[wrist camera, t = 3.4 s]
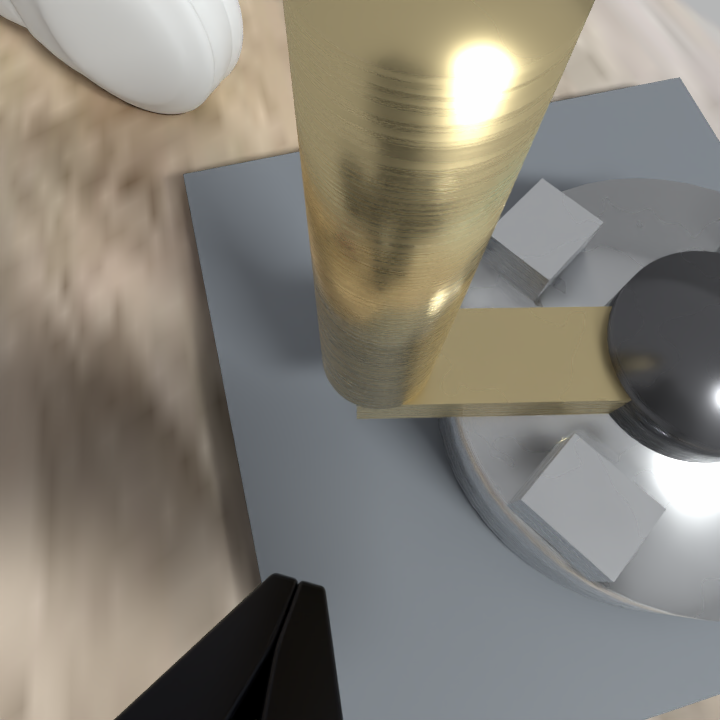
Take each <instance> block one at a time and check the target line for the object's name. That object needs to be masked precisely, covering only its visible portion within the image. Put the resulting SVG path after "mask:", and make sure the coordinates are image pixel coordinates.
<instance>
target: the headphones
mask: <svg viewBox="0 0 720 720" xmlns="http://www.w3.org/2000/svg"><path fill="white" fill-rule="evenodd" d="M0 15H1V16H3V17H4V18H6V19H8V20H10V21H12V22H14V23H17V24H19V25H21V26H23V27H25V28H27V29H28V30H29V32H30V33H31V34H32V36H33V37H35V38H36V39H37V40H38V41H39V42H40V43H41V44H42V45H44V46H45V47H46V48H47V49H48V50H49V51H50V52H52V53H53V54H54V55H55V56H56V57H58V58H59V59H60V60H62V61H63V62H64V63H66V64H67V65H68V66H70V67H71V68H72V69H74V70H76V71H77V72H79V73H81V74H82V75H84V76H85V77H87V78H88V79H90V80H91V81H92V82H94V83H95V84H97V85H98V86H100V87H101V88H103V89H104V90H106V91H108V92H109V93H111V94H112V95H114V96H116V97H118V98H120V99H122V100H123V101H125V102H127V103H129V104H132V105H134V106H136V107H139V108H142V109H144V110H148V111H151V112H156V113H161V114H181V113H186V112H189V111H192V110H194V109H195V108H197V107H199V106H200V105H201V104H202V103H203V102H204V101H205V100H206V99H207V97H208V96H209V95H210V94H211V93H212V92H213V91H214V90H215V89H216V87H217V86H218V85H219V84H220V82H221V81H222V80H223V79H224V78H226V77H227V76H228V75H229V74H230V73H231V71H232V70H233V68H234V67H235V65H236V63H237V61H238V59H239V56H240V53H241V49H242V42H243V22H242V15H241V10H240V6H239V2H238V0H0Z"/></svg>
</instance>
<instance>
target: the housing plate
mask: <svg viewBox="0 0 720 720" xmlns="http://www.w3.org/2000/svg"><path fill="white" fill-rule="evenodd" d="M183 176H184V181H185V186H186V191H187V196H188V202H189V207H190V212H191V217H192V222H193V228H194V233H195V238H196V243H197V249H198V254H199V259H200V264H201V269H202V275H203V280H204V285H205V290H206V295H207V301H208V306H209V311H210V316H211V322H212V327H213V332H214V337H215V342H216V348H217V353H218V358H219V363H220V368H221V374H222V379H223V384H224V389H225V395H226V400H227V405H228V410H229V415H230V421H231V426H232V431H233V436H234V441H235V447H236V452H237V457H238V462H239V467H240V473H241V478H242V483H243V488H244V494H245V499H246V504H247V509H248V514H249V520H250V525H251V530H252V535H253V540H254V546H255V551H256V556H257V561H258V567H259V572H260V577H261V582H263V581H264V580H266V579H267V578H268V577H269V576H270V575H271V574H273V573H279V574H283V575H286V576H290V577H293V578H296V579H297V581H298V584H299V582H300V581H307V582H311V583H314V584H318V585H321V586H323V587H324V588H325V590H326V596H327V603H328V611H329V618H330V625H331V633H332V640H333V647H334V655H335V662H336V669H337V677H338V684H339V691H340V699H341V706H342V713H343V720H646V719H649V718H651V717H654V716H657V715H660V714H663V713H666V712H669V711H672V710H675V709H678V708H681V707H684V706H687V705H690V704H692V703H695V702H698V701H701V700H704V699H707V698H710V697H713V696H716V695H719V694H720V621H708V620H701V619H694V618H686V617H679V616H672V615H665V614H658V613H651V612H644V611H639V610H633V609H628V608H622V607H617V606H612V605H609V604H606V603H603V602H600V601H597V600H594V599H591V598H588V597H585V596H583V595H581V594H578V593H576V592H574V591H572V590H570V589H568V588H566V587H564V586H561V585H559V584H557V583H556V582H554V581H553V580H551V579H550V578H548V577H546V576H545V575H543V574H542V573H540V572H538V571H537V570H535V569H534V568H532V567H531V566H530V565H529V564H527V563H526V562H525V561H524V560H522V559H521V558H520V557H519V556H518V555H516V554H515V553H514V552H513V551H511V550H510V549H509V548H508V547H507V546H506V545H505V544H504V543H503V542H502V541H501V540H500V539H499V538H498V537H497V536H496V534H495V533H494V532H493V531H492V530H491V529H490V528H489V527H488V526H487V525H486V523H485V522H484V521H483V519H482V518H481V517H480V515H479V514H478V513H477V511H476V510H475V509H474V507H473V506H472V505H471V503H470V501H469V500H468V498H467V496H466V495H465V493H464V491H463V489H462V488H461V486H460V484H459V482H458V481H457V479H456V476H455V474H454V472H453V469H452V467H451V465H450V462H449V460H448V458H447V455H446V452H445V449H444V445H443V442H442V438H441V435H440V431H439V426H438V419H437V418H389V419H357V408H356V405H355V404H353V403H351V402H349V401H348V400H346V399H344V398H343V397H342V396H341V395H340V394H338V392H337V391H336V390H335V389H334V388H333V387H332V385H331V384H330V382H329V380H328V379H327V377H326V374H325V371H324V367H323V361H322V352H321V343H320V334H319V325H318V316H317V307H316V298H315V288H314V279H313V270H312V261H311V252H310V243H309V234H308V225H307V215H306V206H305V197H304V188H303V179H302V170H301V161H300V152H295V153H290V154H285V155H280V156H275V157H269V158H264V159H259V160H254V161H249V162H244V163H239V164H234V165H228V166H223V167H218V168H213V169H208V170H203V171H198V172H193V173H187V174H183ZM542 178H543V179H544V180H546V181H547V182H548V183H550V184H551V185H552V186H554V187H555V188H557V189H558V190H559V191H561V192H562V191H565V190H568V189H572V188H575V187H578V186H581V185H584V184H589V183H595V182H601V181H606V180H615V179H631V178H641V179H662V180H668V181H675V182H681V183H688V184H692V185H696V186H700V187H704V188H708V189H711V190H715V191H718V192H720V142H719V140H718V138H717V137H716V135H715V134H714V132H713V130H712V129H711V127H710V125H709V124H708V122H707V121H706V119H705V117H704V116H703V114H702V113H701V111H700V109H699V108H698V106H697V105H696V103H695V101H694V100H693V98H692V96H691V95H690V93H689V92H688V90H687V88H686V87H685V85H684V84H683V82H682V80H681V79H680V77H679V78H674V79H669V80H664V81H658V82H653V83H648V84H643V85H638V86H633V87H628V88H623V89H618V90H612V91H607V92H602V93H597V94H592V95H587V96H582V97H577V98H571V99H566V100H561V101H556V102H551V103H550V104H549V106H548V108H547V111H546V113H545V115H544V117H543V120H542V122H541V124H540V126H539V129H538V131H537V133H536V136H535V138H534V140H533V142H532V145H531V147H530V149H529V152H528V154H527V156H526V158H525V161H524V163H523V165H522V167H521V170H520V172H519V174H518V177H517V179H516V181H515V183H514V186H513V188H512V190H511V193H510V195H509V197H508V199H507V202H506V204H505V206H504V208H503V211H502V213H501V215H500V218H499V220H500V219H501V218H502V217H503V216H504V215H505V214H506V213H507V212H508V211H509V210H510V209H511V208H512V207H513V206H514V205H515V204H516V203H517V202H518V201H519V200H520V199H521V198H522V197H524V196H525V195H526V194H527V193H528V192H529V191H530V190H531V189H532V188H533V187H534V186H535V185H536V184H537V183H538V182H539V181H540V180H541V179H542ZM499 220H498V221H499Z"/></svg>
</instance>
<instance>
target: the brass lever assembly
mask: <svg viewBox="0 0 720 720" xmlns="http://www.w3.org/2000/svg"><path fill="white" fill-rule="evenodd" d="M594 1H595V0H283V6H284V15H285V24H286V33H287V42H288V51H289V60H290V69H291V79H292V88H293V97H294V106H295V115H296V124H297V133H298V142H299V152H300V161H301V170H302V179H303V188H304V197H305V206H306V215H307V225H308V234H309V243H310V252H311V261H312V270H313V279H314V288H315V298H316V307H317V316H318V325H319V334H320V343H321V352H322V361H323V367H324V371H325V374H326V377H327V379H328V380H329V382H330V384H331V385H332V387H333V388H334V389H335V390H336V391H337V392H338V394H340V395H341V396H342V397H343V398H344V399H346V400H348V401H349V402H351V403H353V404H355V405H356V408H357V419H389V418H437V419H438V426H439V431H440V435H441V438H442V442H443V445H444V449H445V452H446V455H447V458H448V460H449V462H450V465H451V467H452V469H453V472H454V474H455V476H456V479H457V481H458V482H459V484H460V486H461V488H462V489H463V491H464V493H465V495H466V496H467V498H468V500H469V501H470V503H471V505H472V506H473V507H474V509H475V510H476V511H477V513H478V514H479V515H480V517H481V518H482V519H483V521H484V522H485V523H486V525H487V526H488V527H489V528H490V529H491V530H492V531H493V532H494V533H495V534H496V536H497V537H498V538H499V539H500V540H501V541H502V542H503V543H504V544H505V545H506V546H507V547H508V548H509V549H510V550H511V551H513V552H514V553H515V554H516V555H518V556H519V557H520V558H521V559H522V560H524V561H525V562H526V563H527V564H529V565H530V566H531V567H532V568H534V569H535V570H537V571H538V572H540V573H542V574H543V575H545V576H546V577H548V578H550V579H551V580H553V581H554V582H556V583H557V584H559V585H561V586H564V587H566V588H568V589H570V590H572V591H574V592H576V593H578V594H581V595H583V596H585V597H588V598H591V599H594V600H597V601H600V602H603V603H606V604H609V605H612V606H617V607H622V608H628V609H633V610H639V611H644V612H651V613H658V614H665V615H672V616H679V617H686V618H694V619H701V620H708V621H720V192H718V191H715V190H711V189H708V188H704V187H700V186H696V185H692V184H688V183H681V182H675V181H668V180H662V179H641V178H631V179H615V180H606V181H601V182H595V183H589V184H584V185H581V186H578V187H575V188H572V189H568V190H565V191H562V192H561V191H559V190H558V189H557V188H555V187H554V186H552V185H551V184H550V183H548V182H547V181H546V180H544V179H543V178H542V179H541V180H540V181H539V182H538V183H537V184H536V185H535V186H534V187H533V188H532V189H531V190H530V191H529V192H528V193H527V194H526V195H525V196H524V197H522V198H521V199H520V200H519V201H518V202H517V203H516V204H515V205H514V206H513V207H512V208H511V209H510V210H509V211H508V212H507V213H506V214H505V215H504V216H503V217H502V218H501V219H500V220H499V218H500V215H501V213H502V211H503V208H504V206H505V204H506V202H507V199H508V197H509V195H510V193H511V190H512V188H513V186H514V183H515V181H516V179H517V177H518V174H519V172H520V170H521V167H522V165H523V163H524V161H525V158H526V156H527V154H528V152H529V149H530V147H531V145H532V142H533V140H534V138H535V136H536V133H537V131H538V129H539V126H540V124H541V122H542V120H543V117H544V115H545V113H546V111H547V108H548V106H549V104H550V101H551V99H552V97H553V95H554V92H555V90H556V88H557V86H558V83H559V81H560V79H561V76H562V74H563V72H564V70H565V67H566V65H567V63H568V60H569V58H570V56H571V54H572V51H573V49H574V47H575V45H576V42H577V40H578V38H579V35H580V33H581V31H582V29H583V26H584V24H585V22H586V19H587V17H588V15H589V13H590V10H591V8H592V6H593V3H594ZM498 220H499V221H498Z"/></svg>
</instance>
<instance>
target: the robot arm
mask: <svg viewBox="0 0 720 720" xmlns="http://www.w3.org/2000/svg"><path fill="white" fill-rule="evenodd" d="M114 720H343V713H342V706H341V699H340V691H339V684H338V677H337V669H336V662H335V655H334V647H333V640H332V633H331V625H330V618H329V611H328V603H327V596H326V590H325V588H324V587H323V586H321V585H318V584H314V583H311V582H307V581H300V582H299V584H298V581H297V579H296V578H293V577H290V576H286V575H283V574H279V573H273V574H271V575H270V576H269V577H268V578H267V579H266V580H264V581H263V582H262V583H261V584H260V585H259V586H258V587H257V588H256V589H255V590H254V591H253V592H252V593H250V594H249V595H248V596H247V597H246V598H245V599H244V600H243V601H242V602H241V603H240V604H239V605H237V606H236V607H235V608H234V609H233V610H232V611H231V612H230V613H229V614H228V615H227V616H226V617H224V618H223V619H222V620H221V621H220V622H219V623H218V624H217V625H216V626H215V627H214V628H213V629H211V630H210V631H209V632H208V633H207V634H206V635H205V636H204V637H203V638H202V639H201V640H200V641H199V642H197V643H196V644H195V645H194V646H193V647H192V648H191V649H190V650H189V651H188V652H187V653H186V654H184V655H183V656H182V657H181V658H180V659H179V660H178V661H177V662H176V663H175V664H174V665H173V666H171V667H170V668H169V669H168V670H167V671H166V672H165V673H164V674H163V675H162V676H161V677H160V678H159V679H157V680H156V681H155V682H154V683H153V684H152V685H151V686H150V687H149V688H148V689H147V690H146V691H144V692H143V693H142V694H141V695H140V696H139V697H138V698H137V699H136V700H135V701H134V702H133V703H131V704H130V705H129V706H128V707H127V708H126V709H125V710H124V711H123V712H122V713H121V714H120V715H119V716H117V717H116V718H115V719H114Z"/></svg>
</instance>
